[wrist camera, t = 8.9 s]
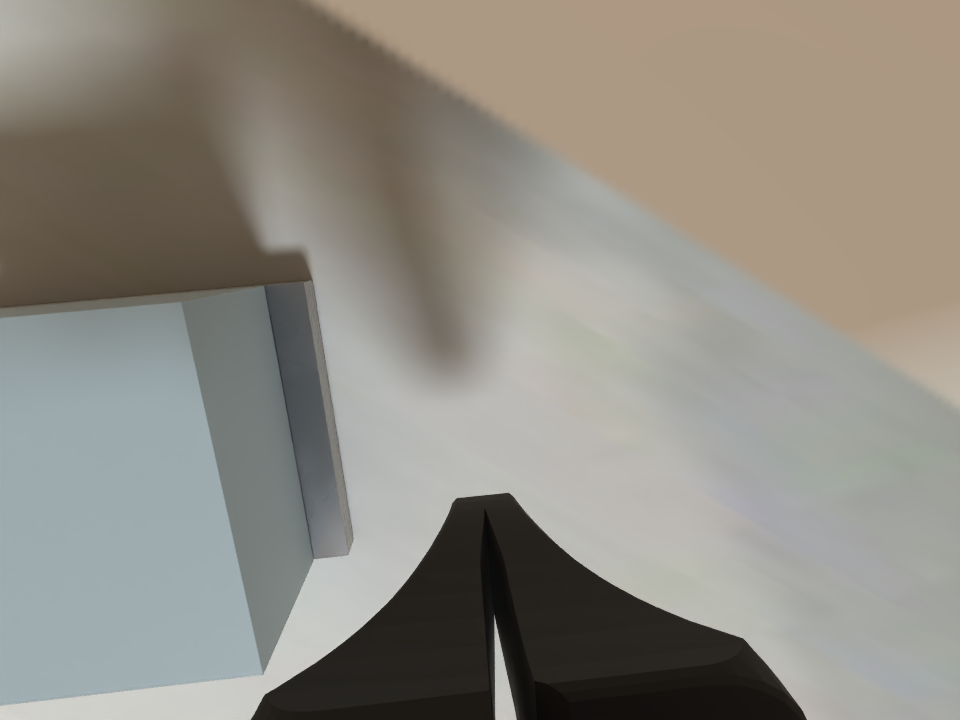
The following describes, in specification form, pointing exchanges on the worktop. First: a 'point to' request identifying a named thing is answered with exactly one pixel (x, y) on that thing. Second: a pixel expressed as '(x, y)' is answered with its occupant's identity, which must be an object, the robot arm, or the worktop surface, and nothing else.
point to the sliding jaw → (144, 494)
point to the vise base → (306, 412)
